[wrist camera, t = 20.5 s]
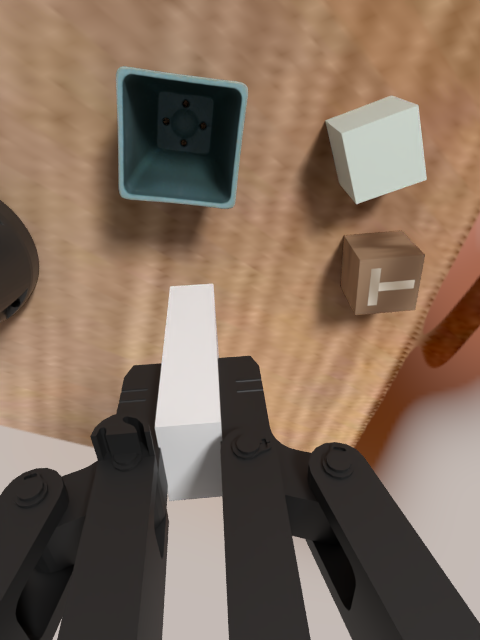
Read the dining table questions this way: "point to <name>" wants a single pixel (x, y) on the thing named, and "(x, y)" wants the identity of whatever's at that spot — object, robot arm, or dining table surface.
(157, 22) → the dining table surface
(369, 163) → the grey-green block
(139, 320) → the dining table surface
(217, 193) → the flower pot
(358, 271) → the walnut block
